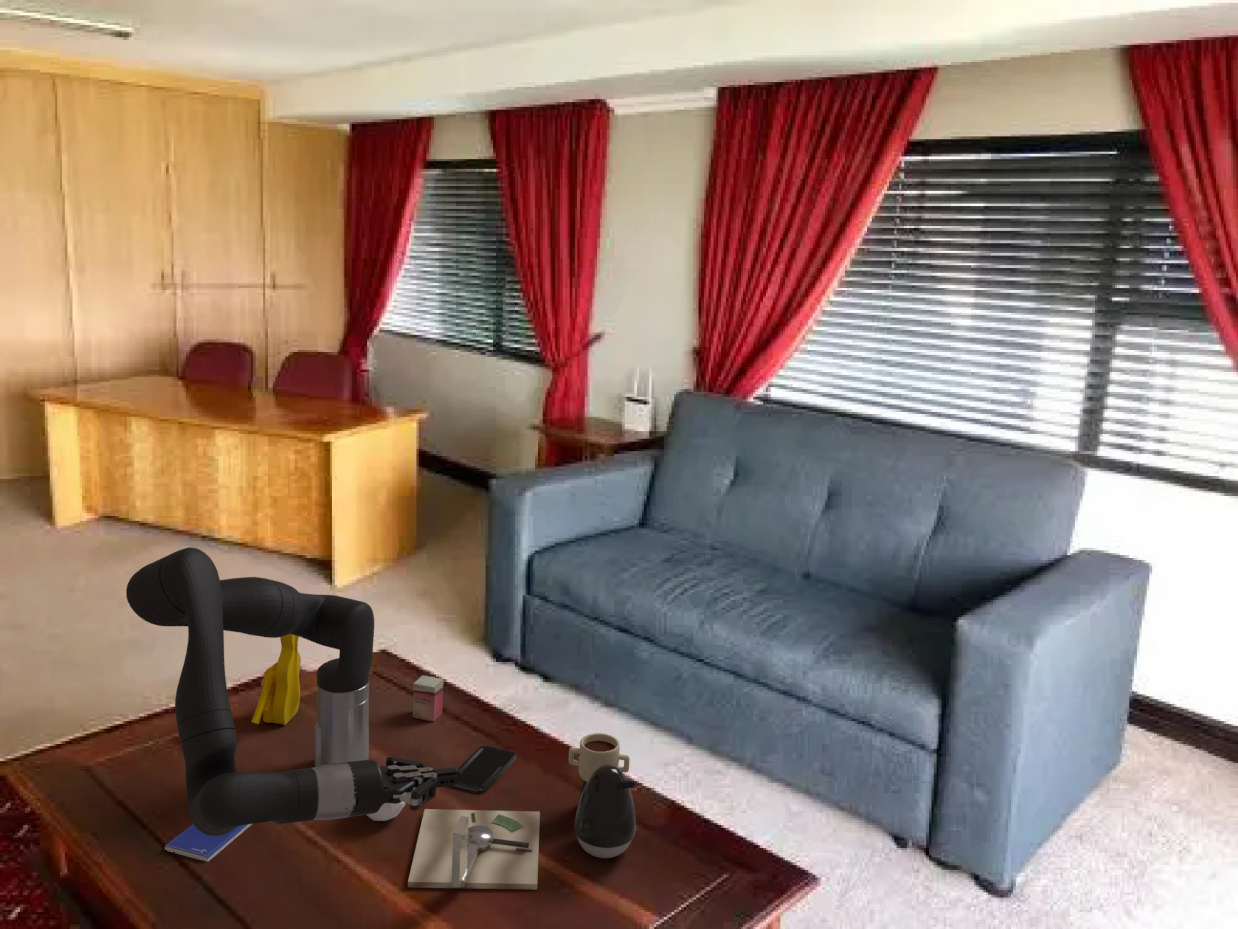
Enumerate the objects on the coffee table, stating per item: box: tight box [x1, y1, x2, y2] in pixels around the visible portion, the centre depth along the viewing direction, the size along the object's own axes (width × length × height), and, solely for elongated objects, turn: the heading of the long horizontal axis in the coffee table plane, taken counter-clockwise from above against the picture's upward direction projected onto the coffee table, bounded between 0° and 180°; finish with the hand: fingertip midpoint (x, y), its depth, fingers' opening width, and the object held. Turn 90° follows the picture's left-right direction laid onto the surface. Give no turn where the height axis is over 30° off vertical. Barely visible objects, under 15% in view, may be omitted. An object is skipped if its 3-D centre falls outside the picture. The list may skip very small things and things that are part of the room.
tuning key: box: [452, 816, 529, 887], centre depth 162 cm, size 16×11×11 cm
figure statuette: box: [250, 634, 302, 726], centre depth 205 cm, size 18×8×22 cm, turn 173°
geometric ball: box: [366, 801, 406, 822], centre depth 176 cm, size 8×8×8 cm
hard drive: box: [164, 823, 253, 863], centre depth 169 cm, size 2×8×12 cm
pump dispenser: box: [574, 765, 638, 859], centre depth 170 cm, size 10×10×15 cm
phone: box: [450, 744, 517, 795], centre depth 193 cm, size 8×1×15 cm
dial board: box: [407, 808, 541, 891], centre depth 169 cm, size 20×20×1 cm
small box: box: [412, 674, 444, 723], centre depth 212 cm, size 5×4×8 cm
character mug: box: [568, 732, 631, 802], centre depth 181 cm, size 11×7×13 cm, turn 81°
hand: (457, 775), depth 154 cm, fingers closed
